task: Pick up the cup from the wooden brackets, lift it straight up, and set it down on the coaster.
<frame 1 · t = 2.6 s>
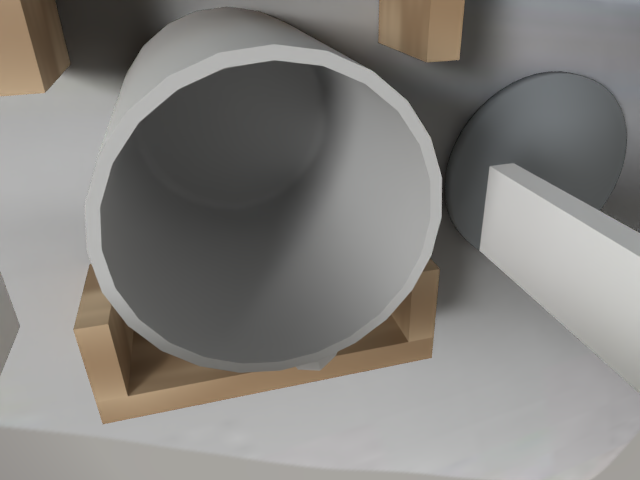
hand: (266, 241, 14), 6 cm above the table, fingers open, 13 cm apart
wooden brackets: (243, 155, 19), on the table
cup: (243, 152, 19), on the table
coaster: (532, 169, 22), on the table
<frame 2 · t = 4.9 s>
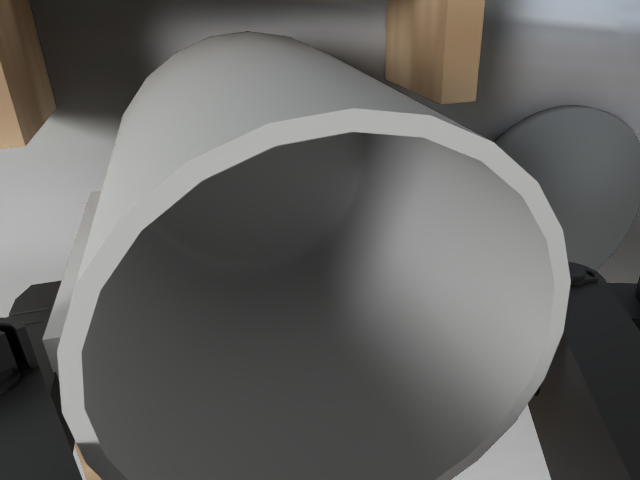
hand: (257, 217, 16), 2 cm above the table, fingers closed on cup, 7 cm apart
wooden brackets: (243, 198, 18), on the table
cup: (263, 203, 16), point 2 cm above the table, touching gripper
coaster: (546, 206, 21), on the table
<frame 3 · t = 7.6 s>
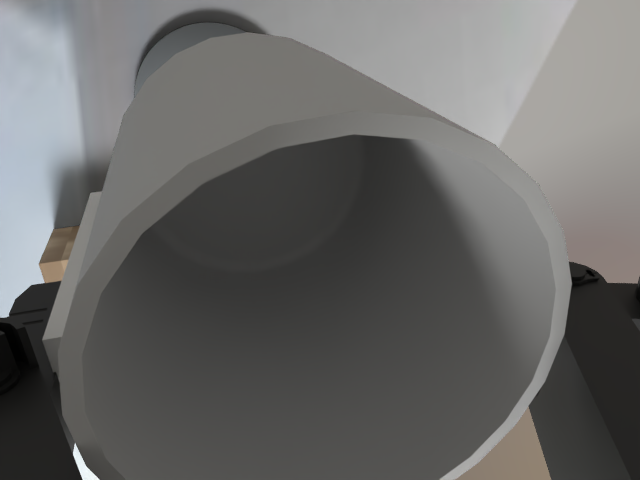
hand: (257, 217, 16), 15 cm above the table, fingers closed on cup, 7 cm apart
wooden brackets: (206, 297, 34), on the table
cup: (264, 204, 16), point 15 cm above the table, touching gripper
coaster: (213, 102, 28), on the table
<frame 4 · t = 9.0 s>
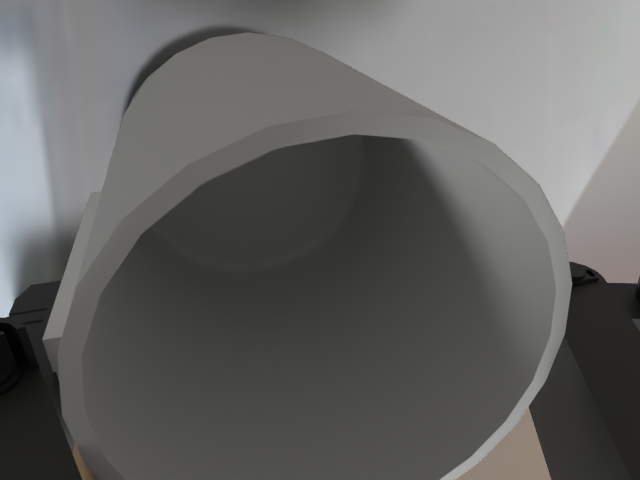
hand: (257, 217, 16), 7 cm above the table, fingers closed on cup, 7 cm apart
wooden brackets: (213, 387, 27), on the table
cup: (264, 204, 16), point 6 cm above the table, touching gripper
when the fingers open (2 cm above the table, at t = 10.4 s): cup stays where it is, resting on coaster.
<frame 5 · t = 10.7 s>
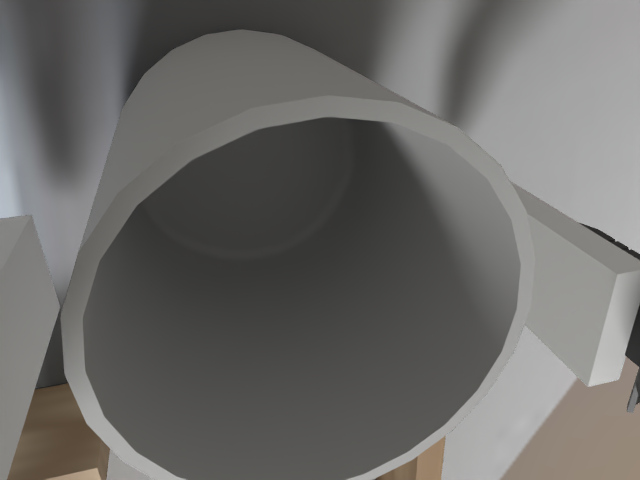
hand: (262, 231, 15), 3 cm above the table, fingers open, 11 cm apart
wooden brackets: (229, 469, 22), on the table
cup: (257, 195, 17), resting on coaster
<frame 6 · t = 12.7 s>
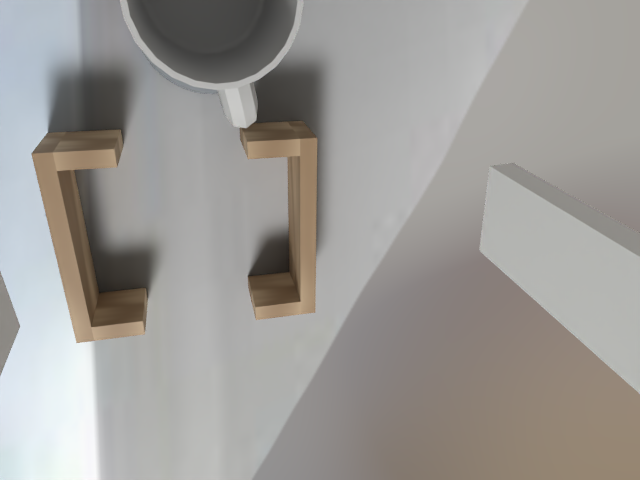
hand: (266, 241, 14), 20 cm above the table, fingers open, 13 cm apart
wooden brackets: (191, 216, 35), on the table
cup: (210, 16, 30), resting on coaster
coaster: (207, 19, 30), on the table
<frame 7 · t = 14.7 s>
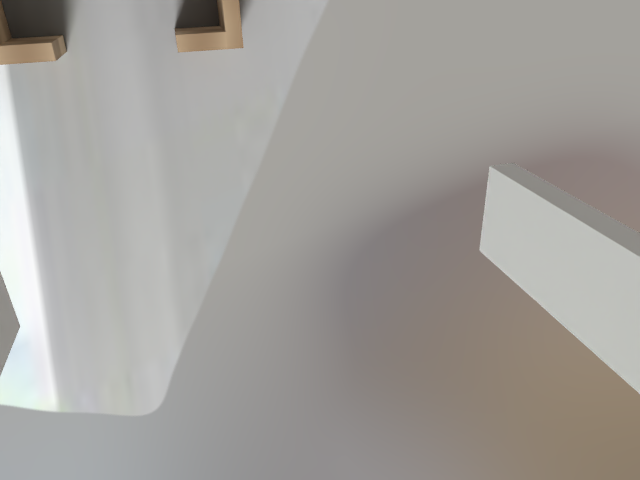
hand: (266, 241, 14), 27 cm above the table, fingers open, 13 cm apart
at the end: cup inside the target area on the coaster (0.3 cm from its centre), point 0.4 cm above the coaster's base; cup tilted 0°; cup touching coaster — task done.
